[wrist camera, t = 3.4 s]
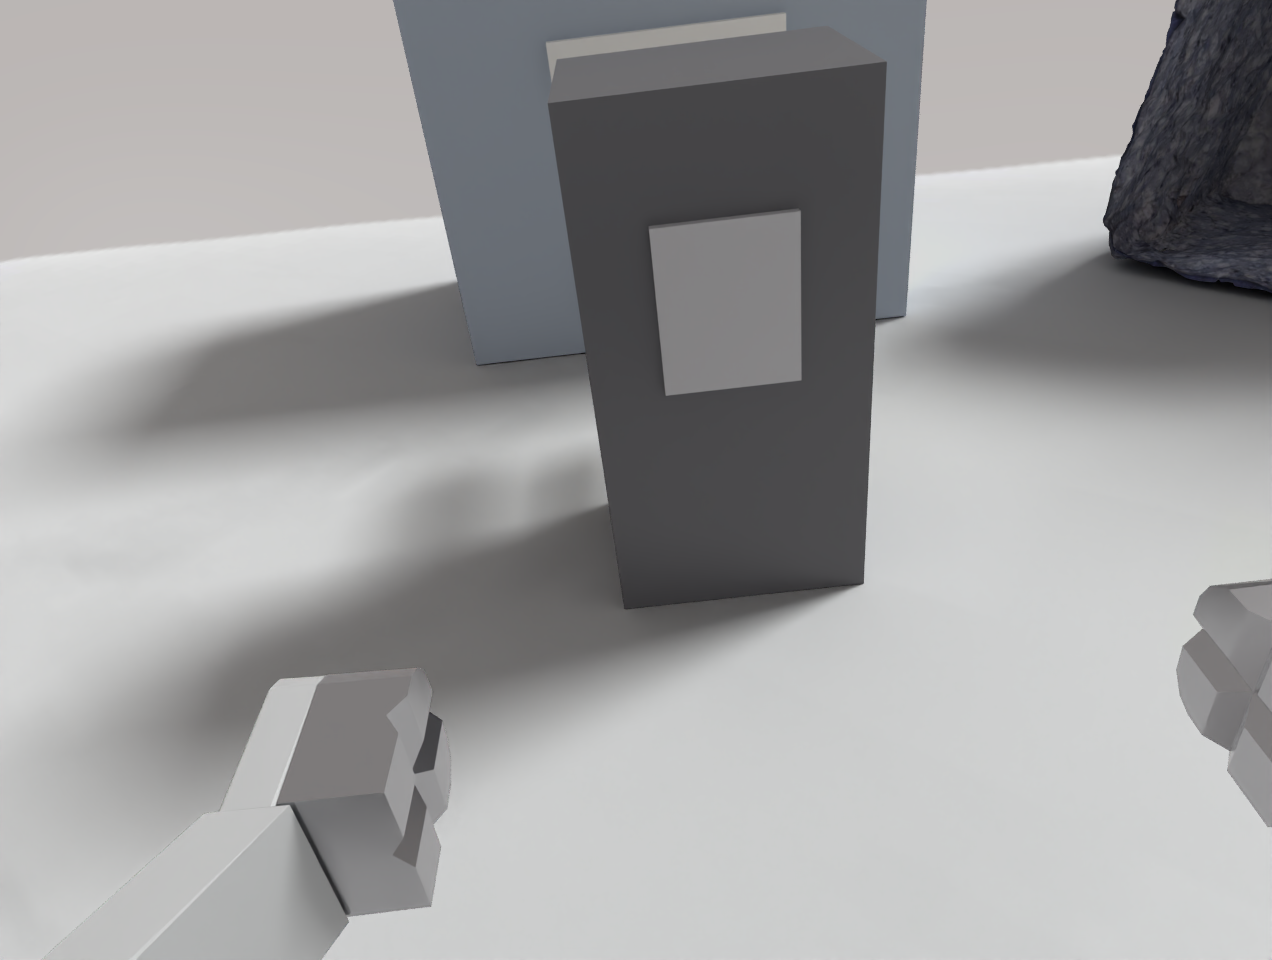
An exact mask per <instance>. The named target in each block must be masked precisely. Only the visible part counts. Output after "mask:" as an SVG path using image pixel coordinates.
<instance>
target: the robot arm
mask: <svg viewBox="0 0 1272 960" xmlns="http://www.w3.org/2000/svg"><path fill="white" fill-rule="evenodd" d="M1193 615H1194V617H1195V618H1196V620H1197V621H1198V623H1199V624H1200V626H1201V627H1202V628H1203V629H1202V630H1201V631H1200V632H1198V633H1197V634H1196V635H1195V636H1194V637H1193V638H1192V639H1190V640H1189V641H1188V642H1187V643H1186V644H1185V645H1183V647H1182V651H1181V654H1180V658H1179V662H1178V665H1177V669H1176V671H1177V679H1178V686H1179V694H1180V697H1181V699H1182V702H1183V704H1184V706H1185V709H1186V711H1187V714H1188V715H1189V717H1190V718H1191V720H1192V721H1193V723H1194V724H1195V726H1196V727H1197V729H1198V730H1199V732H1200V733H1201V734H1202V735H1203V736H1205V737H1206V738H1208V739H1210V740H1212V741H1213V742H1215V743H1217V744H1218V745H1220V746H1222V747H1224V748H1225V749H1227V750H1229V751H1230V753H1229V760H1228V768H1227V771H1228V773H1229V774H1230V775H1231V777H1232V778H1233V779H1234V781H1235V782H1236V784H1237V785H1238V786H1239V788H1240V789H1241V791H1242V792H1243V793H1244V795H1245V796H1246V798H1247V799H1248V800H1249V802H1250V803H1251V804H1252V806H1253V807H1254V809H1255V810H1256V811H1257V813H1258V814H1259V816H1260V817H1261V818H1262V820H1263V821H1264V823H1265V824H1266V825H1267V827H1272V579H1266V580H1257V581H1248V582H1239V583H1230V584H1221V585H1213V586H1210V587H1208V588H1207V589H1206V590H1205V591H1204V592H1203V593H1202V594H1201V595H1200V596H1199V599H1198V602H1197V605H1196V608H1195V610H1194V613H1193ZM432 694H433V691H432V688H431V686H430V683H429V680H428V678H427V675H426V672H425V670H423V669H420V668H418V667H416V668H403V669H391V670H378V671H365V672H352V673H339V674H327V675H326V676H314V677H300V678H286V679H279V680H278V681H277V682H276V683H275V684H274V685H273V686H272V687H271V688H270V689H269V691H268V693H267V695H266V698H265V700H264V702H263V705H262V707H261V710H260V712H259V715H258V717H257V720H256V722H255V724H254V727H253V729H252V732H251V734H250V737H249V739H248V742H247V744H246V746H245V749H244V751H243V754H242V756H241V759H240V761H239V764H238V766H237V768H236V771H235V773H234V776H233V778H232V781H231V783H230V785H229V788H228V790H227V793H226V795H225V798H224V800H223V803H222V805H221V807H220V810H219V811H218V812H210V813H204V814H203V815H202V816H201V817H199V818H198V819H197V820H196V821H195V822H194V823H193V824H192V825H191V826H189V827H188V828H187V829H186V830H185V831H184V832H183V833H182V834H181V835H179V836H178V837H177V838H176V839H175V840H174V841H173V842H172V843H170V844H169V845H168V846H167V847H166V848H165V849H164V850H163V851H162V852H160V853H159V854H158V855H157V856H156V857H155V858H154V859H153V860H152V861H150V862H149V863H148V864H147V865H146V866H145V867H144V868H143V869H142V870H140V871H139V872H138V873H137V874H136V875H135V876H134V877H133V878H132V879H130V880H129V881H128V882H127V883H126V884H125V885H124V886H123V887H122V888H120V889H119V890H118V891H117V892H116V893H115V894H114V895H113V896H111V897H110V898H109V899H108V900H107V901H106V902H105V903H104V904H103V905H101V906H100V907H99V908H98V909H97V910H96V911H95V912H94V913H93V914H91V915H90V916H89V917H88V918H87V919H86V920H85V921H84V922H83V923H81V924H80V925H79V926H78V927H77V928H76V929H75V930H74V931H73V932H71V933H70V934H69V935H68V936H67V937H66V938H65V939H64V940H63V941H61V942H60V943H59V944H58V945H57V946H56V947H55V948H54V949H52V950H51V951H50V952H49V953H48V954H47V955H46V956H45V957H44V958H42V959H41V960H322V958H323V957H324V955H325V954H326V953H327V951H328V950H329V949H330V947H331V946H332V944H333V943H334V942H335V940H336V939H337V938H338V936H339V935H340V933H341V932H342V931H343V929H344V928H345V927H346V925H347V924H348V923H349V920H348V918H347V917H350V916H358V915H366V914H375V913H383V912H391V911H399V910H407V909H415V908H423V907H431V905H432V899H433V893H434V887H435V881H436V875H437V869H438V863H439V857H440V851H441V845H440V842H439V839H438V836H437V834H436V831H435V828H434V825H433V824H434V823H435V822H436V821H437V820H438V819H439V818H440V816H441V815H442V814H443V813H444V812H445V811H446V810H447V807H448V800H449V793H450V786H451V756H450V749H449V743H448V737H447V734H446V730H445V727H444V724H443V721H442V720H441V719H439V718H438V717H436V716H435V715H433V714H432V713H431V712H429V709H430V704H431V699H432Z"/></svg>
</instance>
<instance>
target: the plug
mask: <svg viewBox="0 0 1272 960" xmlns="http://www.w3.org/2000/svg"><path fill="white" fill-rule="evenodd" d="M886 72H887V61H885V60H884V59H882V58H880V57H879V56H877V55H875V54H874V53H872V52H870V51H869V50H867V49H865V48H864V47H862V46H860V45H859V44H857V43H855V42H854V41H852V40H850V39H849V38H847V37H845V36H844V35H842V34H840V33H839V32H837V31H835V30H834V29H832V28H830V27H829V26H821V27H813V28H805V29H797V30H789V31H781V32H773V33H765V34H757V35H749V36H740V37H732V38H724V39H716V40H708V41H700V42H692V43H684V44H676V45H668V46H660V47H652V48H644V49H636V50H628V51H620V52H612V53H604V54H596V55H587V56H579V57H571V58H563V59H557V61H556V66H555V70H554V75H553V80H552V84H551V89H550V94H549V99H548V110H549V116H550V123H551V129H552V136H553V143H554V149H555V156H556V162H557V169H558V175H559V182H560V188H561V195H562V202H563V208H564V215H565V221H566V228H567V234H568V241H569V247H570V254H571V261H572V267H573V274H574V280H575V287H576V293H577V300H578V306H579V313H580V320H581V326H582V333H583V339H584V346H585V352H586V359H587V365H588V372H589V379H590V385H591V392H592V398H593V405H594V411H595V418H596V424H597V431H598V438H599V444H600V451H601V457H602V464H603V470H604V477H605V483H606V490H607V497H608V503H609V510H610V516H611V523H612V529H613V536H614V542H615V549H616V556H617V562H618V569H619V575H620V582H621V588H622V595H623V601H624V608H625V609H630V608H639V607H648V606H658V605H667V604H676V603H686V602H695V601H704V600H714V599H723V598H732V597H742V596H751V595H760V594H769V593H779V592H788V591H797V590H807V589H816V588H825V587H835V586H844V585H853V584H863V583H864V562H865V540H866V518H867V496H868V473H869V451H870V429H871V406H872V384H873V362H874V340H875V317H876V295H877V273H878V250H879V228H880V206H881V183H882V161H883V139H884V117H885V94H886Z"/></svg>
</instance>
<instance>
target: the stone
mask: <svg viewBox="0 0 1272 960" xmlns="http://www.w3.org/2000/svg"><path fill="white" fill-rule="evenodd" d="M1174 8H1175V11H1174V12H1173V14H1172V17H1171V24H1170V28H1169V30H1168V32H1167V39H1166V47H1165V49H1164V50H1163V54H1162V56H1161V57H1160V60H1159V62H1158V64H1157V67H1156V70H1155V72H1154V75H1153V77H1152V79H1151V81H1150V86H1149V89H1148V91H1147V93H1146V95H1145V100H1144V102H1143V103H1142V105H1141V107H1140V109H1139V111H1138V114H1137V117H1136V119H1135V122H1134V123H1133V125H1132V128H1133V135H1132V138H1131V141H1130V143H1129V144H1128V145H1127V148H1126V150H1125V152H1124V154H1123V155H1122V157H1121V160H1120V165H1119V168H1118V169H1117V170H1116V172H1115V173H1116V176H1115V178H1114V181H1113V183H1112V189H1111V193H1110V198H1109V202H1108V206H1107V210H1106V213H1105V215H1104V218H1103V223H1104V226H1105V227H1107V228H1108V230H1109V246H1110V250H1111V254H1112V256H1113V257H1114V258H1115V259H1124V258H1131V259H1134V260H1137V261H1139V262H1145V263H1149V264H1151V265H1152V266H1166V267H1168V268H1170V269H1172V270H1174V271H1175V272H1177V273H1178V274H1180V275H1182V276H1184V277H1185V278H1188V279H1192V280H1197V281H1206V282H1216V281H1217V280H1218V279H1219V280H1220V282H1232V283H1233V284H1234V286H1238V287H1244V288H1250V289H1251V288H1255V289H1260V290H1265V291H1268V292H1270V293H1272V0H1176V2H1175V7H1174ZM1165 248H1168V249H1173V250H1168V249H1167V250H1165V251H1164V252H1160V251H1158V250H1161V249H1165Z"/></svg>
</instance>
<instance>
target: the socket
mask: <svg viewBox="0 0 1272 960" xmlns="http://www.w3.org/2000/svg"><path fill="white" fill-rule="evenodd" d="M926 1H927V0H393V2H394V6H395V11H396V15H397V19H398V24H399V28H400V32H401V37H402V41H403V46H404V50H405V54H406V59H407V63H408V67H409V72H410V76H411V81H412V85H413V89H414V94H415V98H416V102H417V107H418V111H419V115H420V119H421V124H422V128H423V133H424V137H425V142H426V146H427V150H428V155H429V159H430V163H431V168H432V172H433V176H434V180H435V185H436V189H437V194H438V198H439V202H440V207H441V211H442V216H443V220H444V225H445V229H446V233H447V238H448V242H449V246H450V251H451V255H452V259H453V264H454V268H455V273H456V277H457V281H458V286H459V290H460V294H461V299H462V303H463V308H464V312H465V316H466V321H467V325H468V329H469V334H470V338H471V342H472V347H473V351H474V356H475V360H476V364H477V365H481V364H489V363H498V362H507V361H515V360H524V359H533V358H541V357H550V356H559V355H567V354H576V353H585V346H584V339H583V333H582V326H581V320H580V313H579V306H578V300H577V293H576V287H575V280H574V274H573V267H572V261H571V254H570V247H569V241H568V234H567V228H566V221H565V215H564V208H563V202H562V195H561V188H560V182H559V175H558V169H557V162H556V156H555V149H554V143H553V136H552V129H551V123H550V116H549V110H548V99H549V94H550V89H551V84H552V80H553V75H554V70H555V66H556V61H557V59H563V58H571V57H579V56H587V55H596V54H604V53H612V52H620V51H628V50H636V49H644V48H652V47H660V46H668V45H676V44H684V43H692V42H700V41H708V40H716V39H724V38H732V37H740V36H749V35H757V34H765V33H773V32H781V31H789V30H797V29H805V28H813V27H821V26H829V27H830V28H832V29H834V30H835V31H837V32H839V33H840V34H842V35H844V36H845V37H847V38H849V39H850V40H852V41H854V42H855V43H857V44H859V45H860V46H862V47H864V48H865V49H867V50H869V51H870V52H872V53H874V54H875V55H877V56H879V57H880V58H882V59H884V60H885V61H887V72H886V94H885V117H884V139H883V161H882V183H881V206H880V228H879V250H878V273H877V295H876V317H875V319H880V318H889V317H897V316H906V307H907V292H908V277H909V261H910V246H911V231H912V216H913V200H914V185H915V170H916V155H917V139H918V123H919V109H920V94H921V78H922V63H923V62H922V61H923V47H924V33H925V17H926Z"/></svg>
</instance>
